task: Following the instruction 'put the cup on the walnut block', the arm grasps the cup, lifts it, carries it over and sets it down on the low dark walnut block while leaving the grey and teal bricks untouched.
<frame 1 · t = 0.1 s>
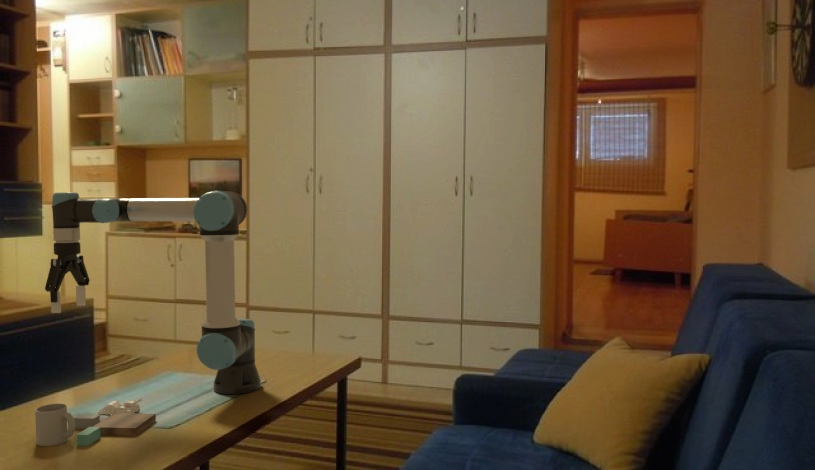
hand: (69, 309, 216), 28 cm above the table, fingers open, 13 cm apart
walnut block: (124, 427, 188), on the table
grey brick: (86, 427, 189), on the table
cup: (57, 442, 177), on the table
teal brick: (88, 442, 178), on the table
toy car: (120, 413, 202), on the table
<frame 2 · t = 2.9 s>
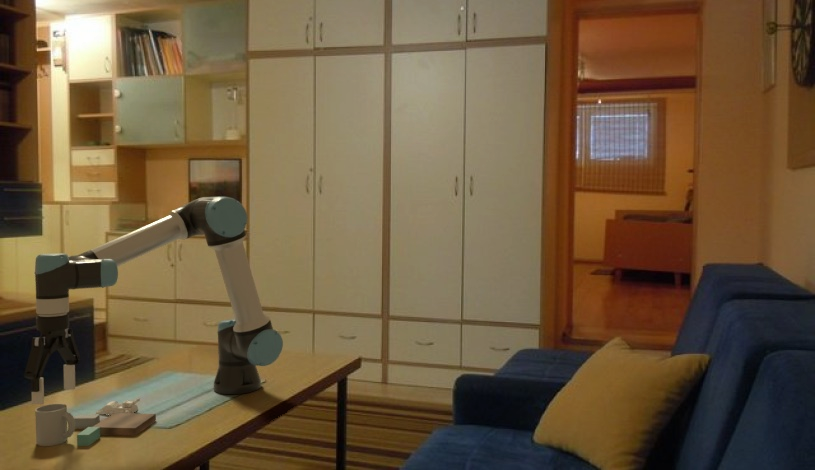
hand: (54, 396, 176), 12 cm above the table, fingers open, 13 cm apart
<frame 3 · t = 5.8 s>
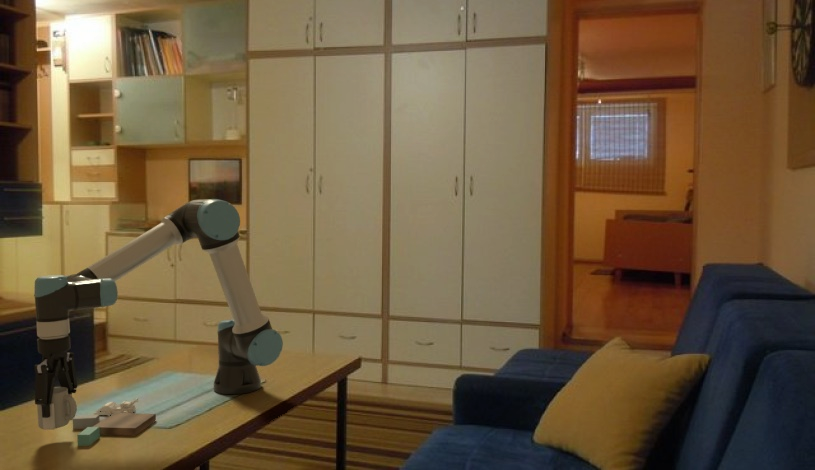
hand: (58, 423, 177), 5 cm above the table, fingers closed on cup, 7 cm apart
cup: (59, 425, 177), point 4 cm above the table, touching gripper
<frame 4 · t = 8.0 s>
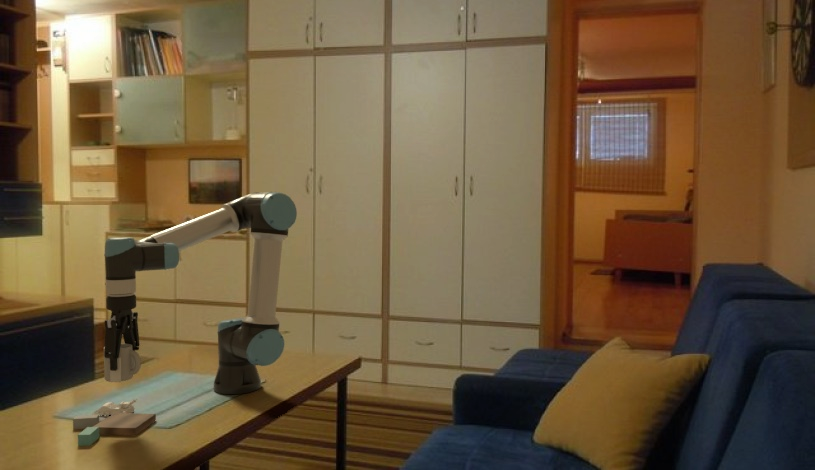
hand: (123, 377, 187), 14 cm above the table, fingers closed on cup, 7 cm apart
cup: (123, 379, 187), point 13 cm above the table, touching gripper
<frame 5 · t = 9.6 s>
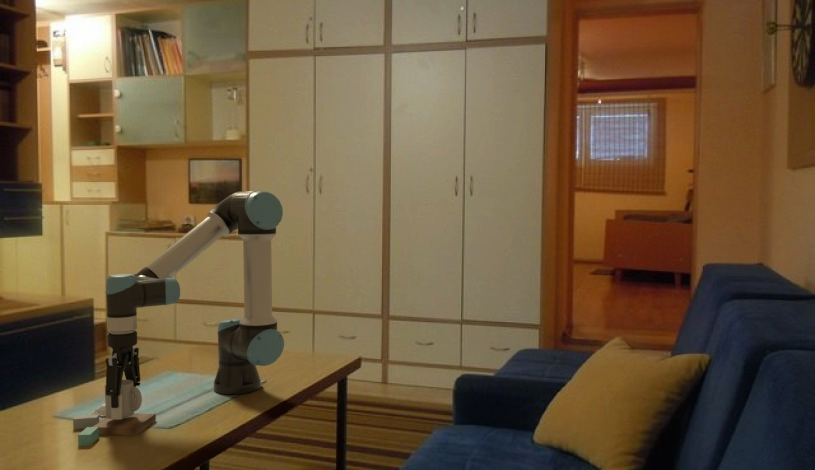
hand: (124, 414, 188), 4 cm above the table, fingers closed on cup, 7 cm apart
cup: (124, 416, 188), point 3 cm above the table, touching gripper
when the fingers open (3 cm above the table, at t = 10.6 s): cup stays where it is, resting on walnut block.
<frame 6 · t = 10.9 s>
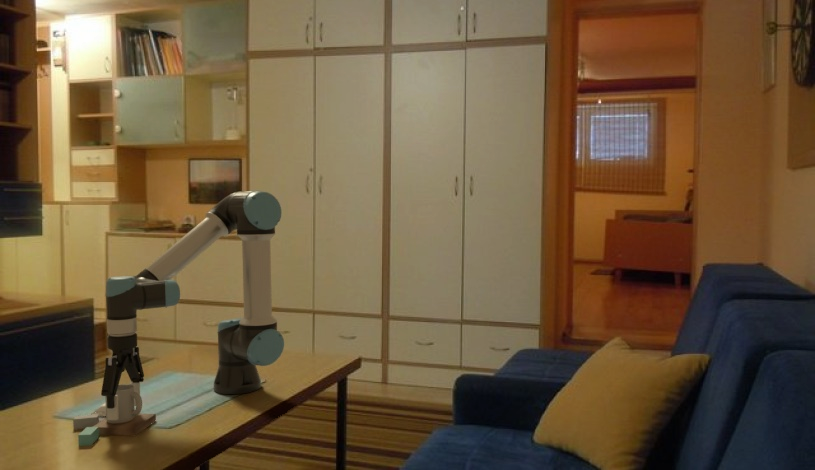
hand: (124, 412, 188), 4 cm above the table, fingers open, 11 cm apart
cup: (125, 420, 188), point 2 cm above the table, touching walnut block
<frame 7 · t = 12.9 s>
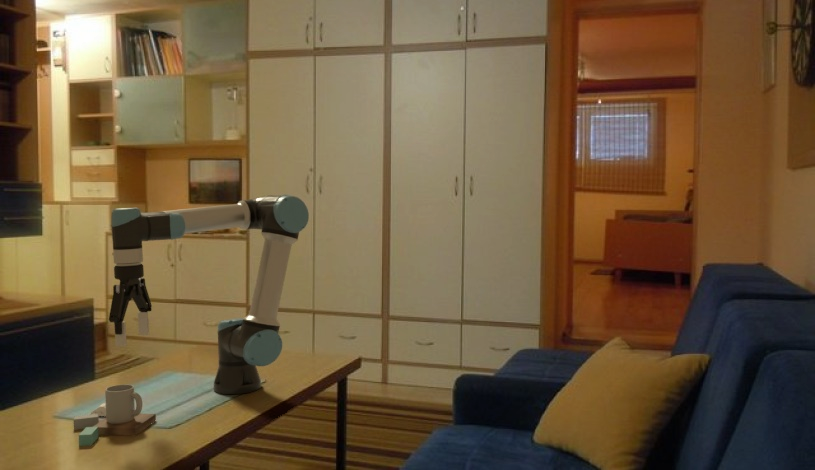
hand: (132, 340, 191), 23 cm above the table, fingers open, 13 cm apart
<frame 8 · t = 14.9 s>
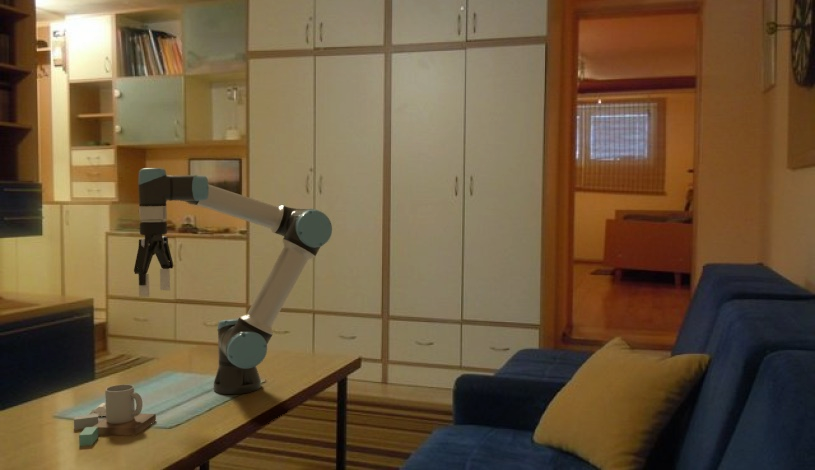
hand: (155, 293, 202), 35 cm above the table, fingers open, 13 cm apart
at the end: cup inside the target area on the walnut block (0.2 cm from its centre), point 1.8 cm above the walnut block's base; cup tilted 0°; teal brick moved 0.2 cm from its start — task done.
